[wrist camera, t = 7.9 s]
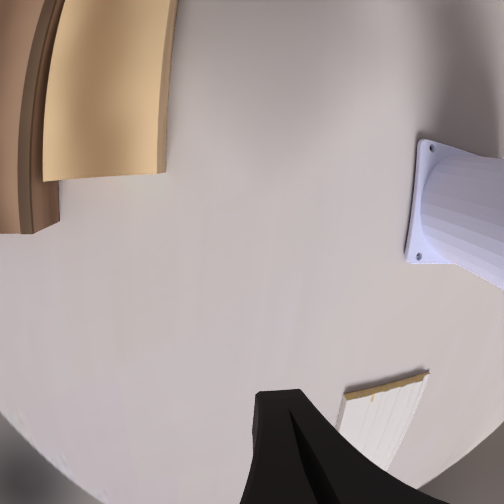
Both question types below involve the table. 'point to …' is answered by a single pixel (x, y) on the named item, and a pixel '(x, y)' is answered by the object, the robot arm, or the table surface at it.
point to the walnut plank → (25, 114)
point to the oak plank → (109, 89)
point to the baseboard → (380, 417)
